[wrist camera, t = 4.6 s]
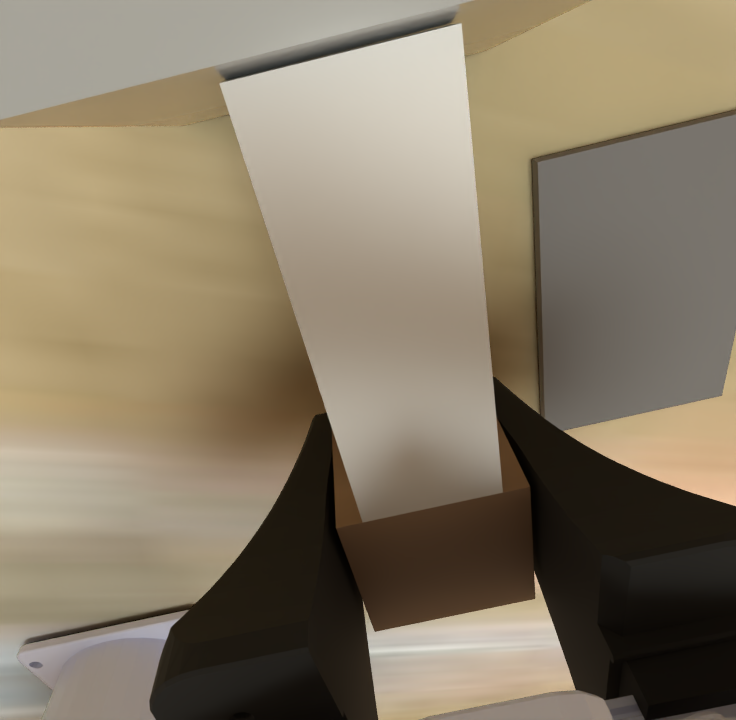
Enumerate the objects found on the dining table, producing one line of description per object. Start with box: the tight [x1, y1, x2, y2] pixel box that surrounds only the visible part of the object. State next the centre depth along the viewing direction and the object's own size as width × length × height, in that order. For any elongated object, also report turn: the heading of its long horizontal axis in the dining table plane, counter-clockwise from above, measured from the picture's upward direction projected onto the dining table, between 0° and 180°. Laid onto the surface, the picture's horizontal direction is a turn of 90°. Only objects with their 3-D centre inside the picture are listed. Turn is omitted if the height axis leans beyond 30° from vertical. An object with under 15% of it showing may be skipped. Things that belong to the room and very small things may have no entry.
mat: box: [532, 110, 736, 431], centre depth 15 cm, size 9×6×1 cm, turn 12°
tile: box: [0, 0, 591, 128], centre depth 8 cm, size 2×7×8 cm, turn 101°
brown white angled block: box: [219, 23, 535, 632], centre depth 11 cm, size 11×4×6 cm, turn 12°
